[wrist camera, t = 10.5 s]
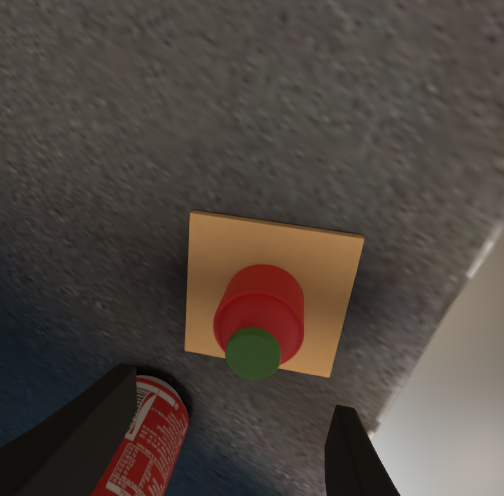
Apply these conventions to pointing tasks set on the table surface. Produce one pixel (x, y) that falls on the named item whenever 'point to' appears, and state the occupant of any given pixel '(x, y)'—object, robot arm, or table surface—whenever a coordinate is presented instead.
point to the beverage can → (147, 443)
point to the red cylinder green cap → (260, 321)
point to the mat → (280, 255)
